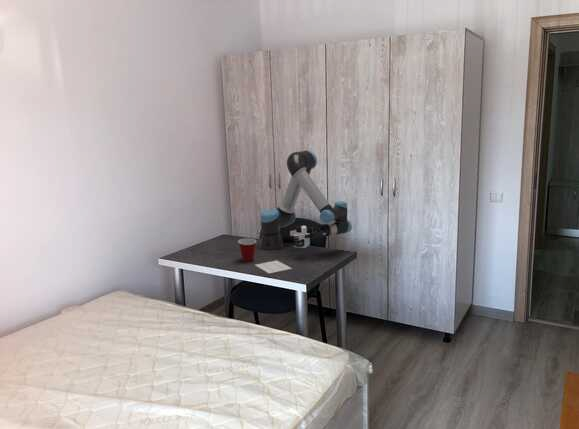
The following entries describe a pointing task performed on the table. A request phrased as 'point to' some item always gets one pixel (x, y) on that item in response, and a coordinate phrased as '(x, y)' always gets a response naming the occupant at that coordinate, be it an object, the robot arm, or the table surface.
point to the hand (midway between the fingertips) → (294, 235)
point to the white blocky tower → (303, 242)
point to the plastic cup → (247, 249)
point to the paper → (273, 266)
